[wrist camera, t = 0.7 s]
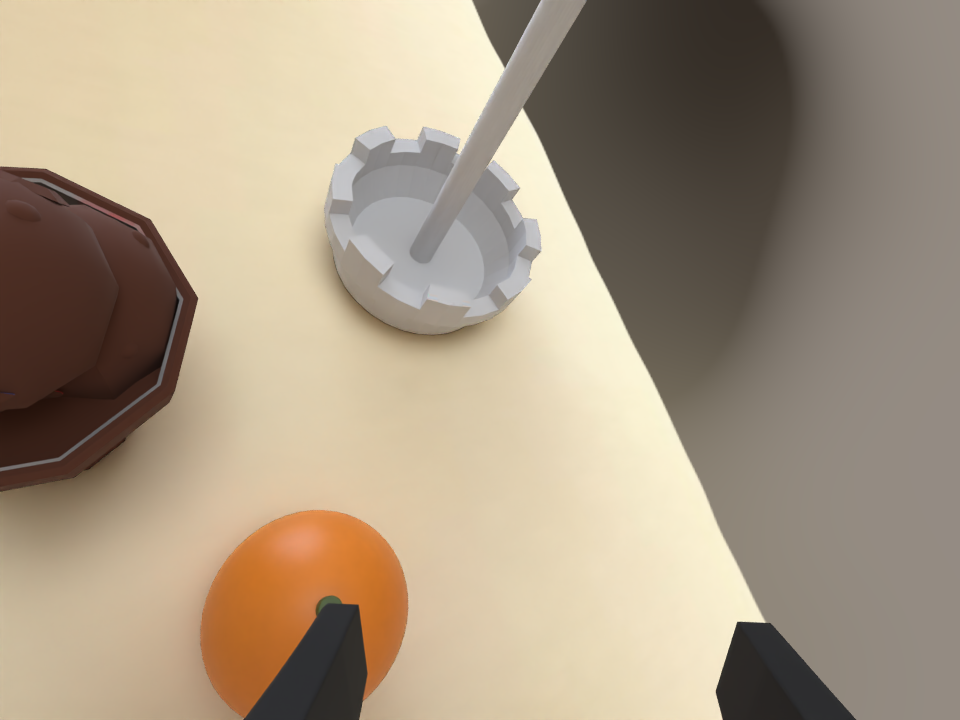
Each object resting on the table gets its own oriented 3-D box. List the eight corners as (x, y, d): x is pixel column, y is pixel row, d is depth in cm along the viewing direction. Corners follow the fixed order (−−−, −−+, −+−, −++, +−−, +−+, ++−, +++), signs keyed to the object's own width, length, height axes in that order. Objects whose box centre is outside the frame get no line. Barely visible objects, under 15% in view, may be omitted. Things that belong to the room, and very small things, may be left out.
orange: (375, 704, 23) (439, 737, 16) (183, 723, 20) (168, 773, 13) (384, 527, 26) (441, 497, 20) (221, 521, 23) (224, 483, 17)
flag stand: (521, 247, 39) (1016, -354, 15) (471, 384, 32) (1258, -339, 8) (368, 153, 37) (670, -763, 12) (275, 281, 29) (563, -1306, 5)
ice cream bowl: (217, 327, 27) (221, 87, 15) (167, 552, 22) (110, 470, 10) (-46, 282, 23) (-340, -100, 11) (-181, 548, 18) (-1006, 398, 6)
